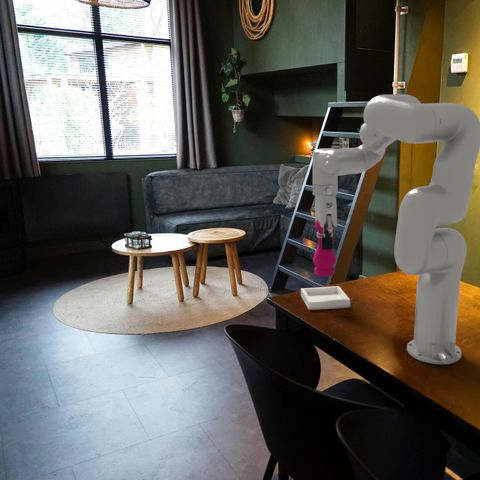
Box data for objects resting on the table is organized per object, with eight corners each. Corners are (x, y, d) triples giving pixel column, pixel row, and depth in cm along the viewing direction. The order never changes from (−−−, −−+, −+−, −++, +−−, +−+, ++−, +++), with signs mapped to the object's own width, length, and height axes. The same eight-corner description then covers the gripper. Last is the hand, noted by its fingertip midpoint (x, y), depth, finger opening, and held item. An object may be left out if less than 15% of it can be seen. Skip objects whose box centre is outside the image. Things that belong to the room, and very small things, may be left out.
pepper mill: (334, 269, 159) (335, 209, 154) (337, 277, 152) (337, 213, 147) (312, 270, 160) (312, 209, 155) (313, 277, 153) (313, 214, 148)
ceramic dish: (350, 307, 152) (350, 299, 152) (308, 310, 152) (308, 302, 151) (338, 293, 165) (339, 286, 164) (300, 295, 164) (300, 288, 164)
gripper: (344, 193, 142) (343, 253, 146) (330, 185, 158) (329, 239, 163) (319, 194, 141) (319, 254, 146) (307, 186, 158) (307, 241, 162)
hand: (324, 246), depth 154 cm, fingers closed on pepper mill, 5 cm apart
